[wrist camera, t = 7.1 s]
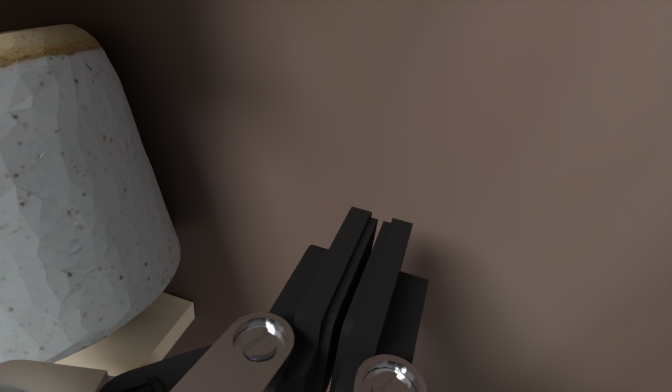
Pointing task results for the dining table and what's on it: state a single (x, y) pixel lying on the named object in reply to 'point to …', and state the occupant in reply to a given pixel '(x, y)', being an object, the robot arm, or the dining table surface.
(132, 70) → the dining table surface
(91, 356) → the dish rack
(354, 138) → the dining table surface
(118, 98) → the ceramic mug
